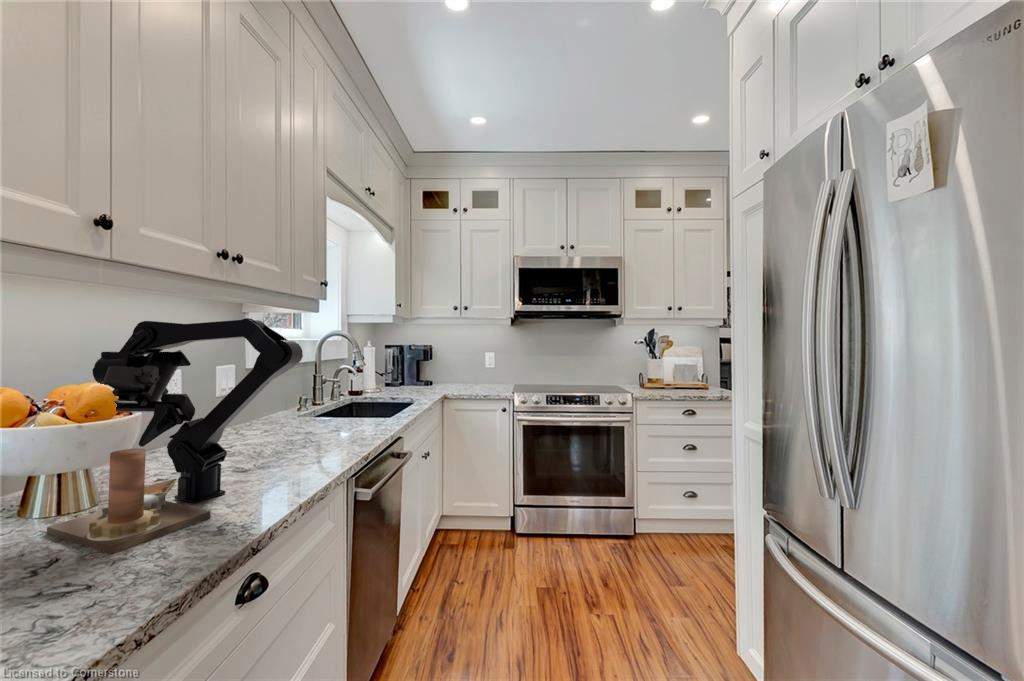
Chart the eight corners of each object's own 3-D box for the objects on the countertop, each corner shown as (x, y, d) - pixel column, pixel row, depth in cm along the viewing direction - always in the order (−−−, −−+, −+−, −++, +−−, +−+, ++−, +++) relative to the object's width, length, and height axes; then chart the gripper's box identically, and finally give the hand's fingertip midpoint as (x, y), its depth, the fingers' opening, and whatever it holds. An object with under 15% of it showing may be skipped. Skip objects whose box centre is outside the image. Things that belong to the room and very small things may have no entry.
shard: (176, 484, 98) (176, 476, 98) (198, 489, 95) (198, 481, 95) (118, 500, 88) (118, 491, 88) (140, 506, 85) (141, 496, 85)
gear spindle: (139, 513, 76) (142, 443, 77) (172, 521, 73) (174, 448, 73) (75, 533, 68) (78, 454, 68) (108, 543, 65) (111, 461, 65)
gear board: (150, 503, 85) (150, 485, 85) (210, 517, 79) (210, 498, 79) (46, 533, 71) (47, 512, 71) (110, 554, 65) (110, 530, 65)
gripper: (76, 349, 79) (18, 419, 68) (190, 352, 83) (153, 419, 72) (105, 387, 87) (56, 455, 76) (208, 388, 90) (176, 454, 80)
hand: (110, 445), depth 75 cm, fingers open, 9 cm apart
